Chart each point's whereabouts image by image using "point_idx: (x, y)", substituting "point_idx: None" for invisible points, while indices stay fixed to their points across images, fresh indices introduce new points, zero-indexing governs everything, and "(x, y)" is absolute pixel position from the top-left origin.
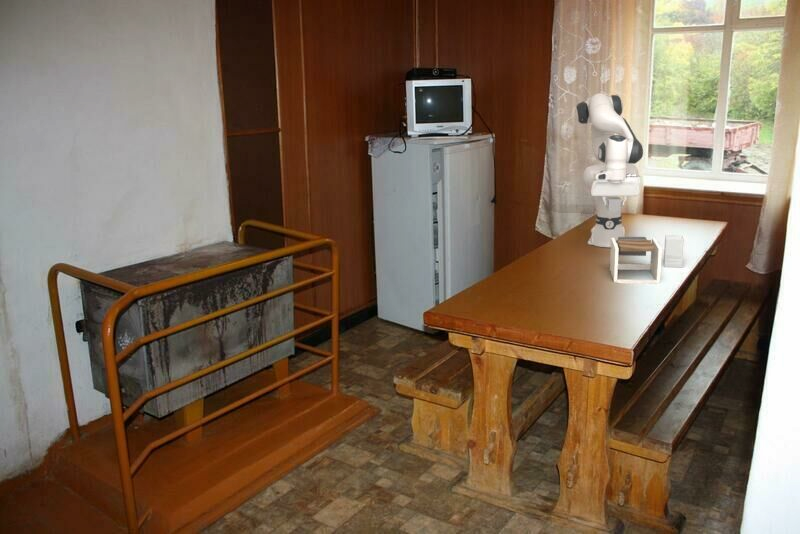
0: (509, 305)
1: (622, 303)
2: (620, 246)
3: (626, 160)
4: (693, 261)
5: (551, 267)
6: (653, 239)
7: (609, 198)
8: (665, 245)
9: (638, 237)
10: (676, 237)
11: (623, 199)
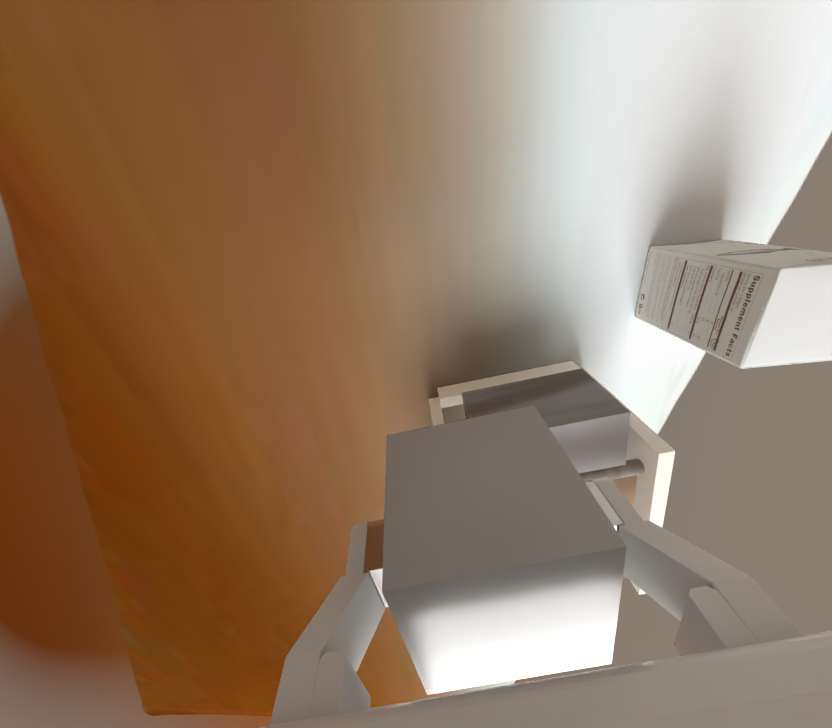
0: (261, 665)
1: None
2: None
3: None
4: (791, 190)
5: (217, 426)
6: (658, 479)
7: (423, 635)
8: (708, 352)
9: (588, 433)
10: (817, 334)
11: (665, 567)
